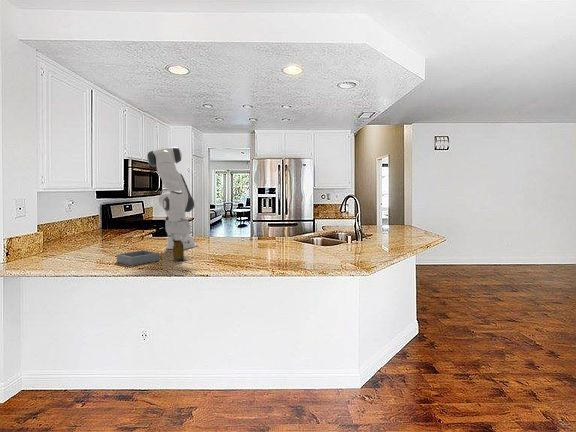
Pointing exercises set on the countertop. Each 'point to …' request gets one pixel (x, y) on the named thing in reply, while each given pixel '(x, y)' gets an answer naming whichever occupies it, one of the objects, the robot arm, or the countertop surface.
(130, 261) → the bin
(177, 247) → the condiment
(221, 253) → the countertop surface
